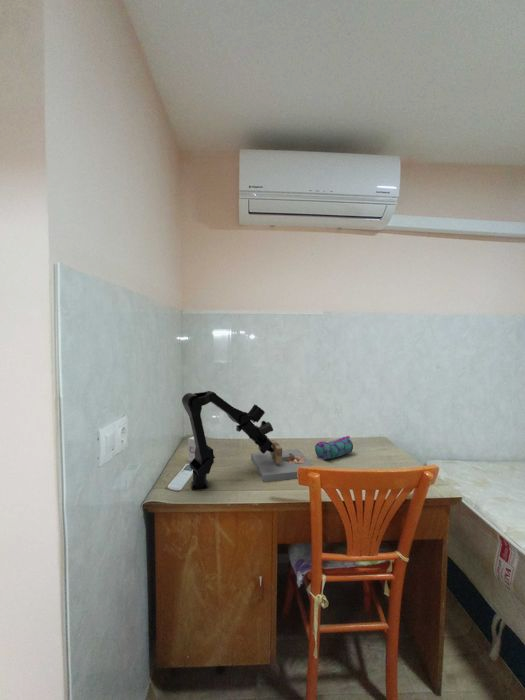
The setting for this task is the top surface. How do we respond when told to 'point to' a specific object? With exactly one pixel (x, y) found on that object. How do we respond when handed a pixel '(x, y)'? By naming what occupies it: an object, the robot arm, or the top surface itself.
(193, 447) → the ink box
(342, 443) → the pencil case
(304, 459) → the deck
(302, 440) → the top surface
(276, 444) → the plunger
